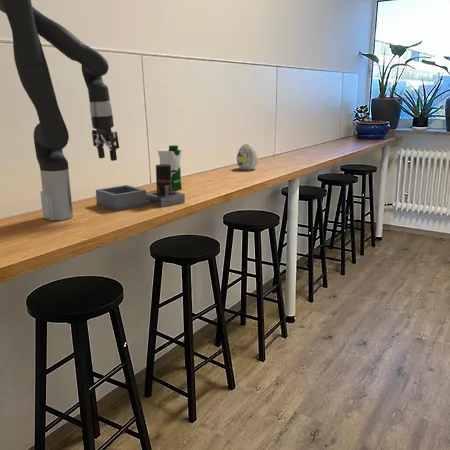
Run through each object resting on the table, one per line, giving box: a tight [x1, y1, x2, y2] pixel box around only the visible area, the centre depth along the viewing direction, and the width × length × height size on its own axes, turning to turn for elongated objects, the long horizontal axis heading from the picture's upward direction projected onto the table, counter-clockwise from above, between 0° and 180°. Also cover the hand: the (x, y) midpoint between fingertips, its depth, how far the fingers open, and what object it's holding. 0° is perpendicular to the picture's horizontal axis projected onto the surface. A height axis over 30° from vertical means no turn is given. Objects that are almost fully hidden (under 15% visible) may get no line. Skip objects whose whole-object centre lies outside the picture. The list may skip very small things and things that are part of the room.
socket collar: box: [146, 190, 186, 208], centre depth 182 cm, size 12×12×4 cm
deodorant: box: [155, 163, 172, 197], centre depth 180 cm, size 6×6×15 cm
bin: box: [95, 184, 148, 212], centre depth 177 cm, size 14×14×6 cm
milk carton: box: [157, 144, 183, 192], centre depth 203 cm, size 9×9×20 cm
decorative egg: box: [236, 142, 259, 171], centre depth 261 cm, size 12×12×15 cm
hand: (107, 159), depth 167 cm, fingers open, 8 cm apart
